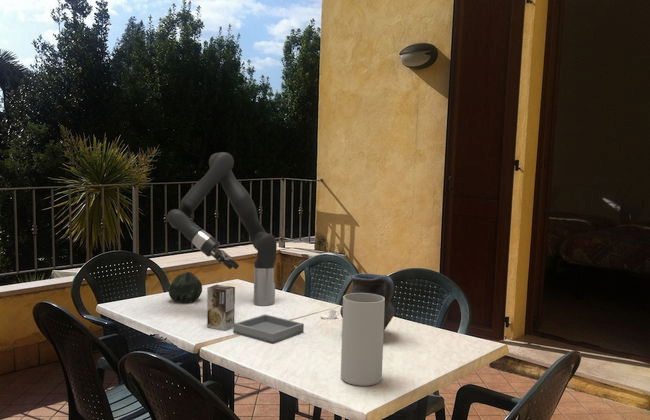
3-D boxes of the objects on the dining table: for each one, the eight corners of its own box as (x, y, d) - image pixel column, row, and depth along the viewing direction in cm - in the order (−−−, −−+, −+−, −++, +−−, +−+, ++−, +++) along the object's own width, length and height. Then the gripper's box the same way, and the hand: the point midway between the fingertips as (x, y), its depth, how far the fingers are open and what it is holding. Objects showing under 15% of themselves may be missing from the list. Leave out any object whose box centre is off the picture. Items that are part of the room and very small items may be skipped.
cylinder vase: (334, 382, 158) (337, 299, 157) (348, 368, 170) (350, 291, 168) (375, 389, 154) (378, 304, 152) (386, 374, 166) (389, 295, 164)
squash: (173, 285, 259) (170, 265, 248) (204, 286, 261) (203, 267, 250) (168, 309, 249) (165, 290, 238) (200, 311, 251) (199, 292, 240)
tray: (265, 322, 218) (265, 314, 218) (303, 332, 207) (303, 323, 206) (233, 332, 204) (233, 323, 204) (272, 343, 192) (272, 334, 192)
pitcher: (364, 325, 219) (366, 265, 217) (407, 338, 203) (410, 273, 201) (329, 335, 204) (330, 271, 202) (372, 350, 189) (374, 280, 187)
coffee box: (235, 326, 212) (235, 286, 211) (225, 330, 206) (226, 289, 205) (216, 323, 216) (216, 284, 214) (206, 327, 210) (206, 287, 209)
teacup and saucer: (318, 320, 226) (318, 310, 226) (325, 315, 233) (325, 306, 233) (337, 322, 223) (338, 313, 223) (344, 318, 230) (344, 309, 230)
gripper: (206, 235, 217) (236, 260, 214) (216, 237, 231) (244, 260, 228) (194, 249, 217) (224, 274, 214) (205, 250, 231) (233, 274, 228)
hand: (234, 267), depth 221 cm, fingers open, 8 cm apart
